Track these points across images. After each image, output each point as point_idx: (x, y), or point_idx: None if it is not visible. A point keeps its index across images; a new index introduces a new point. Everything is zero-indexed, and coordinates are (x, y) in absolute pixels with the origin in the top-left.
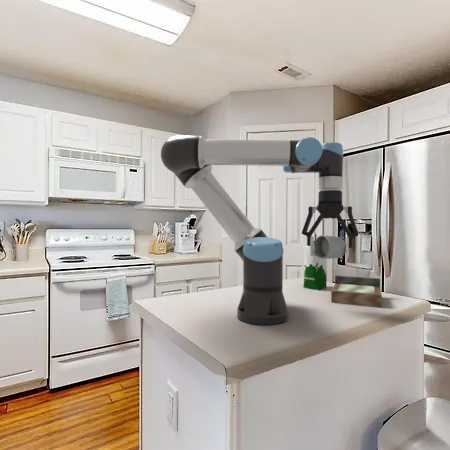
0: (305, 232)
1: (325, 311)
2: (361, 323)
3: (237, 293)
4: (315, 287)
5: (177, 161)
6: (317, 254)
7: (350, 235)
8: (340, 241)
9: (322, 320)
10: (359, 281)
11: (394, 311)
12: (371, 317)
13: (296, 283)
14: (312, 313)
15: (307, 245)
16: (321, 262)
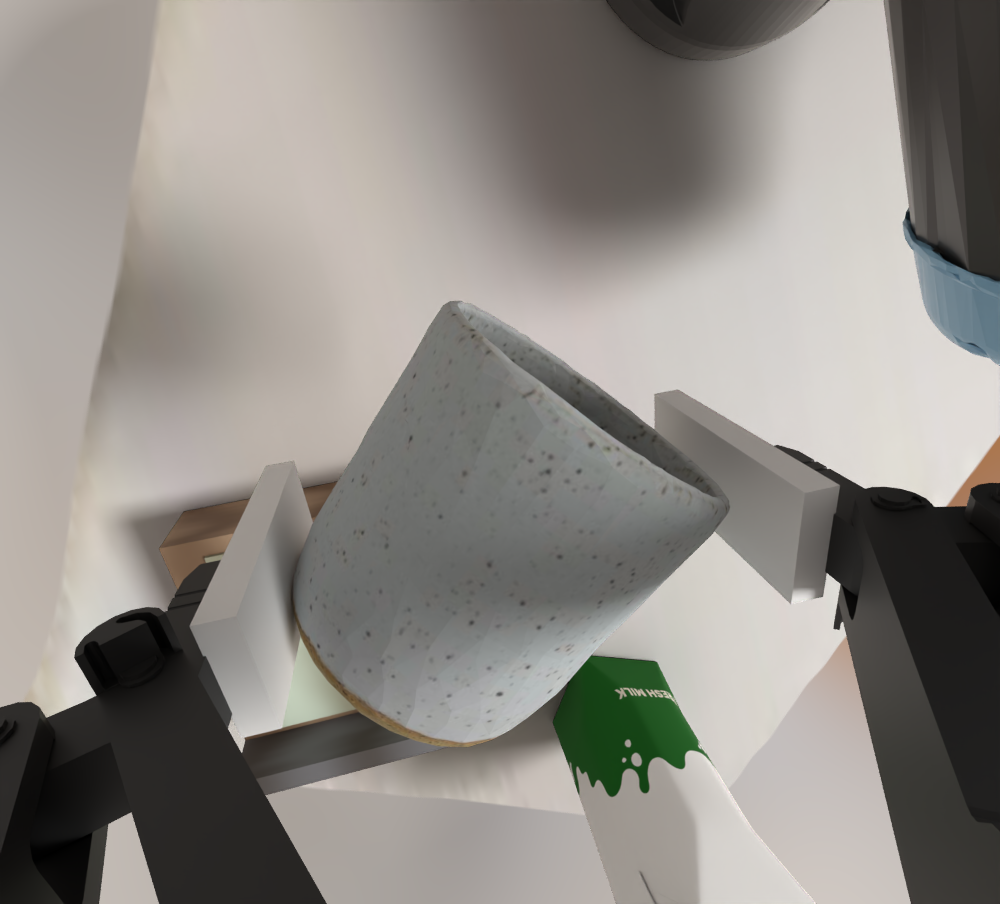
0: (988, 510)
1: (424, 242)
2: (155, 83)
3: (944, 345)
4: (595, 661)
5: None
6: (611, 419)
7: (129, 673)
8: (349, 574)
9: (379, 13)
10: (358, 732)
11: (93, 471)
12: (154, 263)
13: (704, 712)
14: (477, 150)
15: (784, 448)
16: (623, 810)
